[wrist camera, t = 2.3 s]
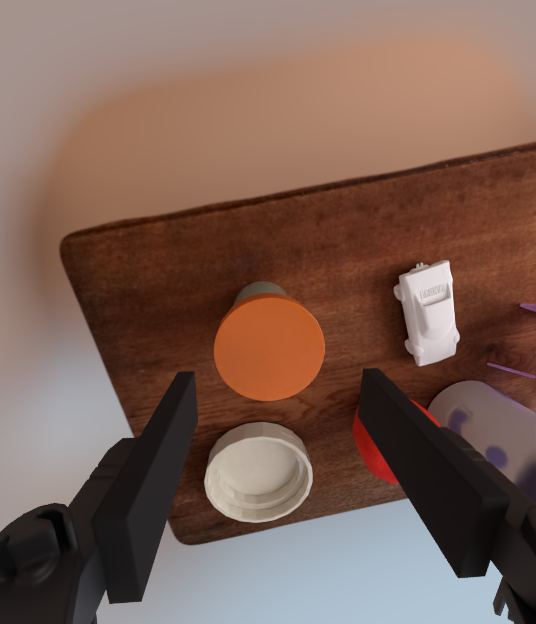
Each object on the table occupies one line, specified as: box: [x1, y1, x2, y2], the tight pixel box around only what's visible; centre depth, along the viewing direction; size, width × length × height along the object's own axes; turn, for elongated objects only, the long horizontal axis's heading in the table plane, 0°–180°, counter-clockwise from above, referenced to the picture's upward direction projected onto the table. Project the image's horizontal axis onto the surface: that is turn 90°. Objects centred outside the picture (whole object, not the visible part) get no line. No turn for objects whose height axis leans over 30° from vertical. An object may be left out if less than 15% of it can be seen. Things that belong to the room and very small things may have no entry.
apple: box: [353, 399, 440, 484], centre depth 28 cm, size 9×9×8 cm
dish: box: [204, 422, 313, 523], centre depth 31 cm, size 13×13×3 cm
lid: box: [214, 293, 325, 401], centre depth 18 cm, size 8×8×2 cm
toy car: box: [394, 260, 460, 366], centre depth 27 cm, size 6×12×3 cm, turn 19°
